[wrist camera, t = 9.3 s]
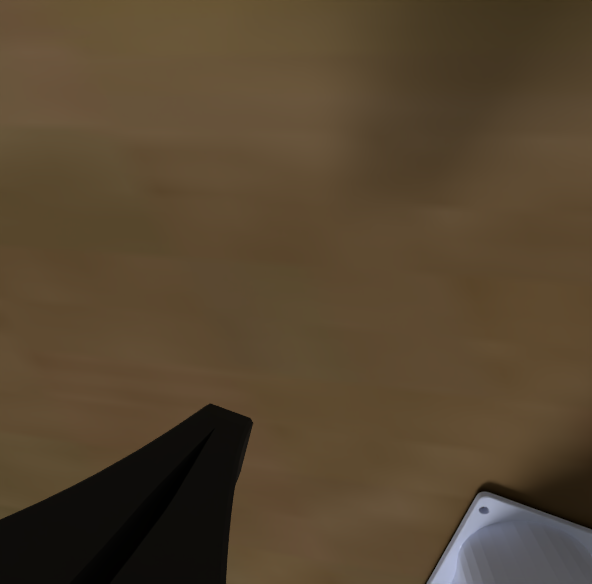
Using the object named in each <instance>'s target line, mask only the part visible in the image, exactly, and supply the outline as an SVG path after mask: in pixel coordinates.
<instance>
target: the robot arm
mask: <svg viewBox="0 0 592 584" xmlns="http://www.w3.org/2000/svg"><path fill="white" fill-rule="evenodd" d="M252 425H253V422H252V420H251V418H249V417H246V416H243V415H240V414H238V413H235V412H232V411H230V410H227V409H224V408H221V407H219V406H216V405H213V404H209V405H206V406H205V407H203V408H202V409H201V410H199V411H198V412H196V413H195V414H193V415H192V416H190V417H189V418H187V419H186V420H185V421H183V422H182V423H180V424H179V425H177V426H176V427H174V428H172V429H171V430H169V431H168V432H166V433H165V434H163V435H162V436H160V437H158V438H157V439H155V440H153V441H152V442H150V443H149V444H147V445H145V446H144V447H142V448H141V449H139V450H137V451H136V452H134V453H132V454H130V455H129V456H127V457H125V458H123V459H122V460H120V461H118V462H116V463H114V464H113V465H111V466H109V467H107V468H106V469H104V470H102V471H100V472H98V473H97V474H95V475H93V476H91V477H89V478H87V479H85V480H83V481H81V482H79V483H77V484H76V485H74V486H72V487H70V488H68V489H66V490H63V491H61V492H59V493H57V494H55V495H53V496H51V497H49V498H47V499H45V500H43V501H41V502H39V503H36V504H34V505H32V506H30V507H27V508H25V509H23V510H21V511H19V512H16V513H14V514H12V515H10V516H7V517H5V518H3V519H1V520H0V584H226V571H227V555H228V542H229V531H230V521H231V512H232V503H233V496H234V489H235V485H236V482H237V480H238V477H239V474H240V472H241V468H242V464H243V460H244V456H245V452H246V448H247V444H248V441H249V437H250V433H251V429H252ZM481 507H484V508H481ZM427 584H592V529H589V528H586V527H584V526H581V525H578V524H575V523H572V522H570V521H567V520H564V519H561V518H559V517H556V516H553V515H550V514H548V513H545V512H542V511H539V510H537V509H534V508H531V507H528V506H526V505H523V504H520V503H517V502H514V501H512V500H509V499H506V498H503V497H501V496H498V495H495V494H492V493H490V492H480V493H478V494H477V496H476V497H475V499H474V501H473V503H472V504H471V506H470V508H469V510H468V511H467V513H466V515H465V517H464V518H463V520H462V522H461V524H460V526H459V527H458V529H457V531H456V533H455V534H454V536H453V538H452V540H451V541H450V543H449V545H448V547H447V548H446V550H445V552H444V554H443V555H442V557H441V559H440V561H439V562H438V564H437V566H436V568H435V570H434V571H433V573H432V575H431V577H430V578H429V580H428V582H427Z"/></svg>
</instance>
